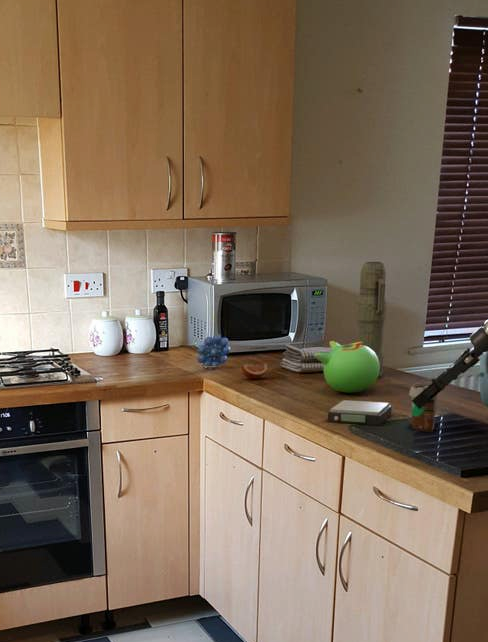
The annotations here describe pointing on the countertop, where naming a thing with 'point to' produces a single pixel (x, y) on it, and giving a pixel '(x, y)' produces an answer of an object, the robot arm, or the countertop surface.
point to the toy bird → (350, 367)
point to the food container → (423, 409)
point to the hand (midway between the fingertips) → (421, 398)
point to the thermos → (372, 308)
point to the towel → (303, 359)
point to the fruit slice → (254, 370)
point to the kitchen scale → (360, 412)
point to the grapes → (213, 351)
